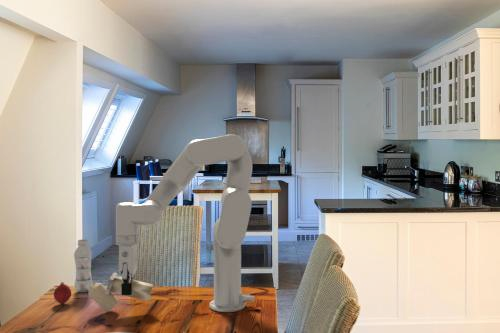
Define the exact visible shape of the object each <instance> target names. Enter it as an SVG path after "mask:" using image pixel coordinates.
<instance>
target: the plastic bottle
mask: <svg viewBox="0 0 500 333" xmlns="http://www.w3.org/2000/svg"><path fill="white" fill-rule="evenodd" d="M88 245H89V239H86V238H85V239H84V238H83V239H78V240H77V248H76V249H75V251H74V253H73V258H74V261H75V263H74V264H75V282H74V289H75V291H76V292H78V293H89V289H90V288H91V287H92V286H93V285H94V283H93V277H92V257H93V252H92V250H91V248H90V247H89V246H88Z"/></svg>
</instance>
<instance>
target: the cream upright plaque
mask: <svg viewBox="0 0 500 333" xmlns="http://www.w3.org/2000/svg"><path fill="white" fill-rule="evenodd" d="M131 283H132V294H131V295H122V275H118V273H117V272H113V273H112V275H111V276H110V278H109V279H108V283H107V285H106V286H107V287H106V288H107V290H106V293H105V294H110V292H111V293H112V294H116V295H120V296H121V295H122V296H125V297H130V298H134V299H138V300H142V301H146V302H149V301H150V299H151V295H152V290H153V287H154V284H152V283H149V282H144V281H140V280H135V279H134V278H133V279H131Z"/></svg>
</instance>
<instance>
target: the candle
mask: <svg viewBox="0 0 500 333" xmlns="http://www.w3.org/2000/svg"><path fill="white" fill-rule="evenodd" d="M106 290H107V287H106V286H105V285H103V283H101V282H95V283H93V286H92V287H91V288H90V289H89V291H88V292H87V293H88V297H89V298H91V299H92V300H93V301H94V302H95V303H96V305H98V306H99V308H101V309H102V310H103V311H104V312H105V313H109V312H110V311H111V310H112V309H113V308H114V307H115V306H116V305H118V302H119V300H120V299H118V298H117V297H116V296H115V295H114V293H112V292H110V294H105V293H106Z"/></svg>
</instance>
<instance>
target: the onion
mask: <svg viewBox="0 0 500 333" xmlns="http://www.w3.org/2000/svg"><path fill="white" fill-rule="evenodd" d="M71 297H72V289H71V288H70V286H68V285H67V284H65V282H64V281H61V282H60V284H59V285H58V286H56V287H55V290H54V291H53V298H54V300H55V301H56V302H57V303H58V304H61V305H64V304H66V303H67V302H68V301H69V300H70V299H71Z"/></svg>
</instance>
